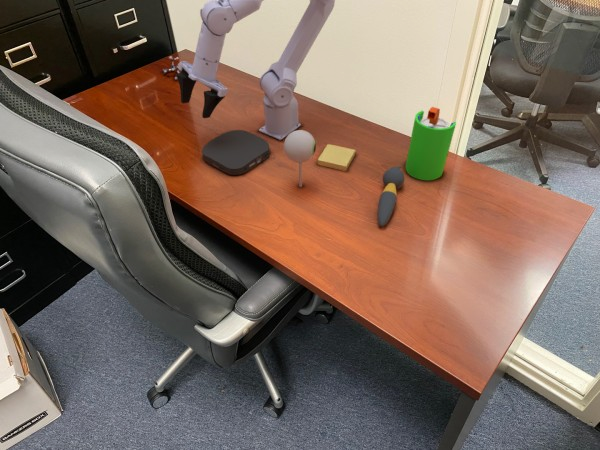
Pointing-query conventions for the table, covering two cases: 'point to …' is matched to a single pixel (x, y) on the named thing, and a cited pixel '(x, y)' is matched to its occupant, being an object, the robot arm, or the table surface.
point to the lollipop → (299, 148)
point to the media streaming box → (236, 151)
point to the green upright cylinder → (429, 145)
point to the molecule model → (172, 67)
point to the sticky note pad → (336, 157)
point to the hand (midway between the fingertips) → (195, 109)
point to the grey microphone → (389, 194)
